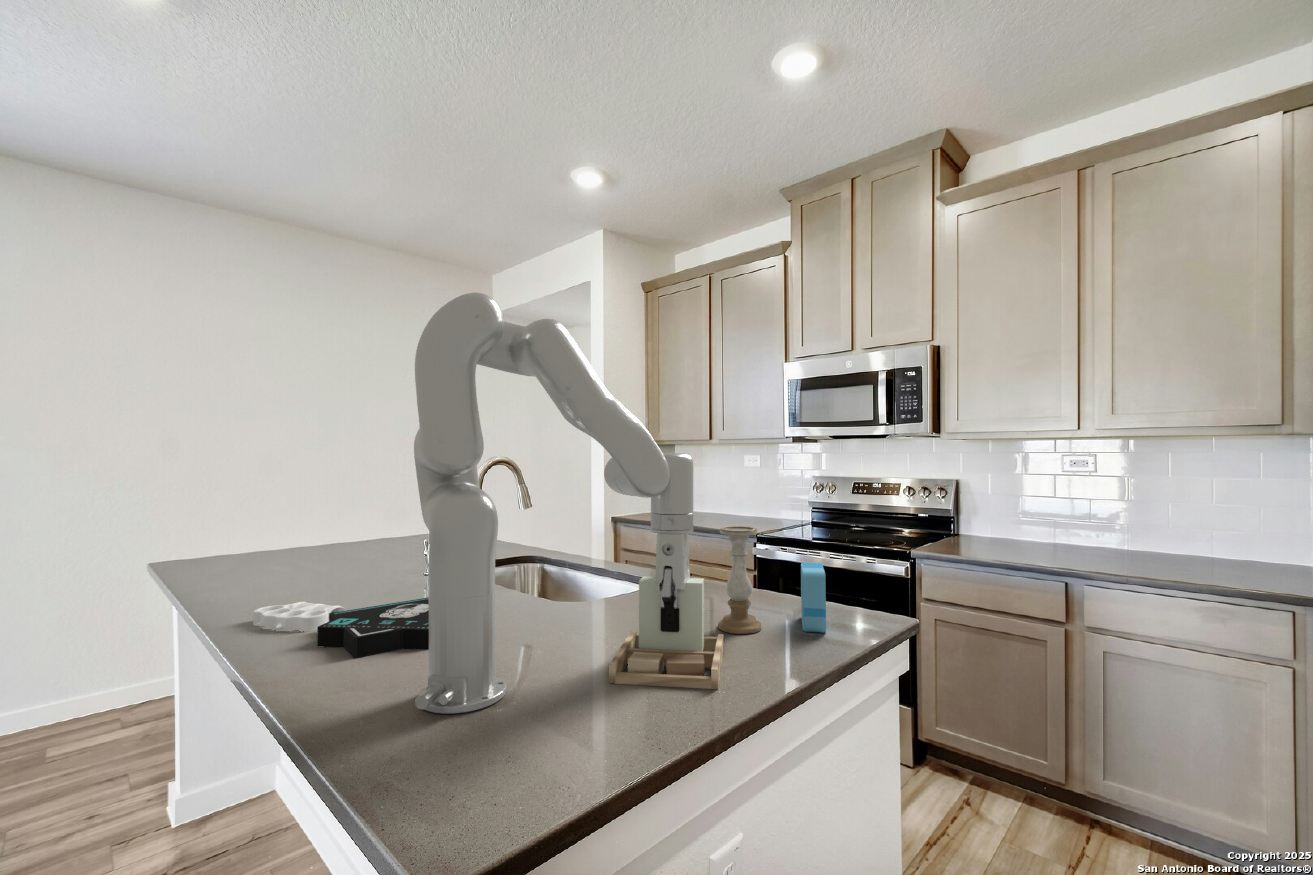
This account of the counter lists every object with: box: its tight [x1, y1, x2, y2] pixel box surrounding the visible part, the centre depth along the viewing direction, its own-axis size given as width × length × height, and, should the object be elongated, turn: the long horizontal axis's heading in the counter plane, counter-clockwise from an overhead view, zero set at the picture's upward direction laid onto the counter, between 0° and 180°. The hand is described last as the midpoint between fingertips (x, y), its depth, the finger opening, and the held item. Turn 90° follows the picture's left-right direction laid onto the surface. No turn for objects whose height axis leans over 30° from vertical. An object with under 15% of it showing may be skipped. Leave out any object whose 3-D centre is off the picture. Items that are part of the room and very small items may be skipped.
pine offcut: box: [627, 652, 665, 674], centre depth 99 cm, size 4×5×3 cm
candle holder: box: [717, 525, 762, 635], centre depth 123 cm, size 9×9×20 cm
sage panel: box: [638, 576, 705, 651], centre depth 106 cm, size 4×11×12 cm, turn 81°
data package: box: [800, 562, 827, 633], centre depth 125 cm, size 12×4×12 cm, turn 167°
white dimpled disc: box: [252, 601, 347, 632], centre depth 130 cm, size 3×18×15 cm
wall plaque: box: [316, 596, 429, 659], centre depth 122 cm, size 30×4×30 cm
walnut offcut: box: [666, 655, 706, 676], centre depth 97 cm, size 4×6×3 cm, turn 87°
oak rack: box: [608, 630, 725, 690], centre depth 102 cm, size 18×17×3 cm
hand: (671, 626), depth 106 cm, fingers closed on sage panel, 4 cm apart
